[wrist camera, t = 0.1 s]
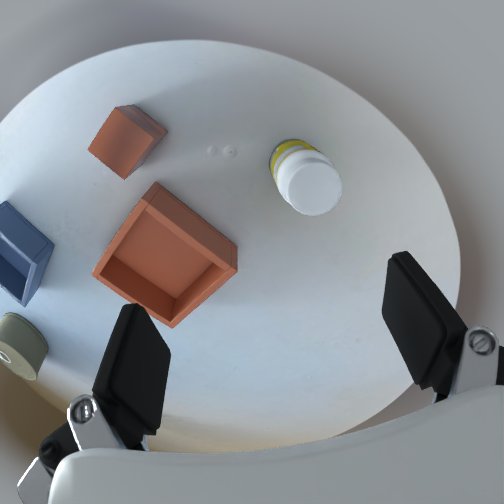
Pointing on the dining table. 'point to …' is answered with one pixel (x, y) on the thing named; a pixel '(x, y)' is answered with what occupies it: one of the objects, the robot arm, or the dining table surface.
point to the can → (21, 346)
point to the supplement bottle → (305, 177)
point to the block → (126, 139)
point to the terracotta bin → (166, 258)
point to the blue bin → (21, 255)
